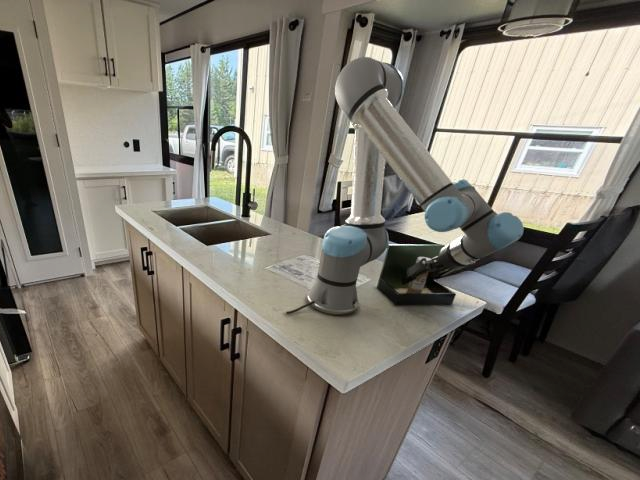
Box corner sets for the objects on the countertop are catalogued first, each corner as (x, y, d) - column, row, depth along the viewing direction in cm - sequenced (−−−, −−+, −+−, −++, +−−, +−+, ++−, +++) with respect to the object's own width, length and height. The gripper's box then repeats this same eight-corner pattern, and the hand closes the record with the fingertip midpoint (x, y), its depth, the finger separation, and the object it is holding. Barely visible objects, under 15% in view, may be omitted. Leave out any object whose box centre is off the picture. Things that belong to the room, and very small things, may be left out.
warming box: (395, 305, 103) (410, 258, 96) (376, 287, 114) (388, 244, 107) (451, 304, 106) (470, 258, 98) (428, 287, 117) (443, 244, 109)
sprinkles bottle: (413, 300, 107) (426, 262, 101) (402, 294, 111) (414, 257, 104) (423, 297, 109) (436, 260, 103) (411, 292, 113) (424, 255, 106)
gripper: (434, 265, 87) (387, 292, 109) (493, 265, 89) (435, 291, 111) (428, 240, 89) (383, 271, 111) (486, 240, 91) (430, 270, 113)
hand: (409, 281), depth 111 cm, fingers closed on sprinkles bottle, 4 cm apart
